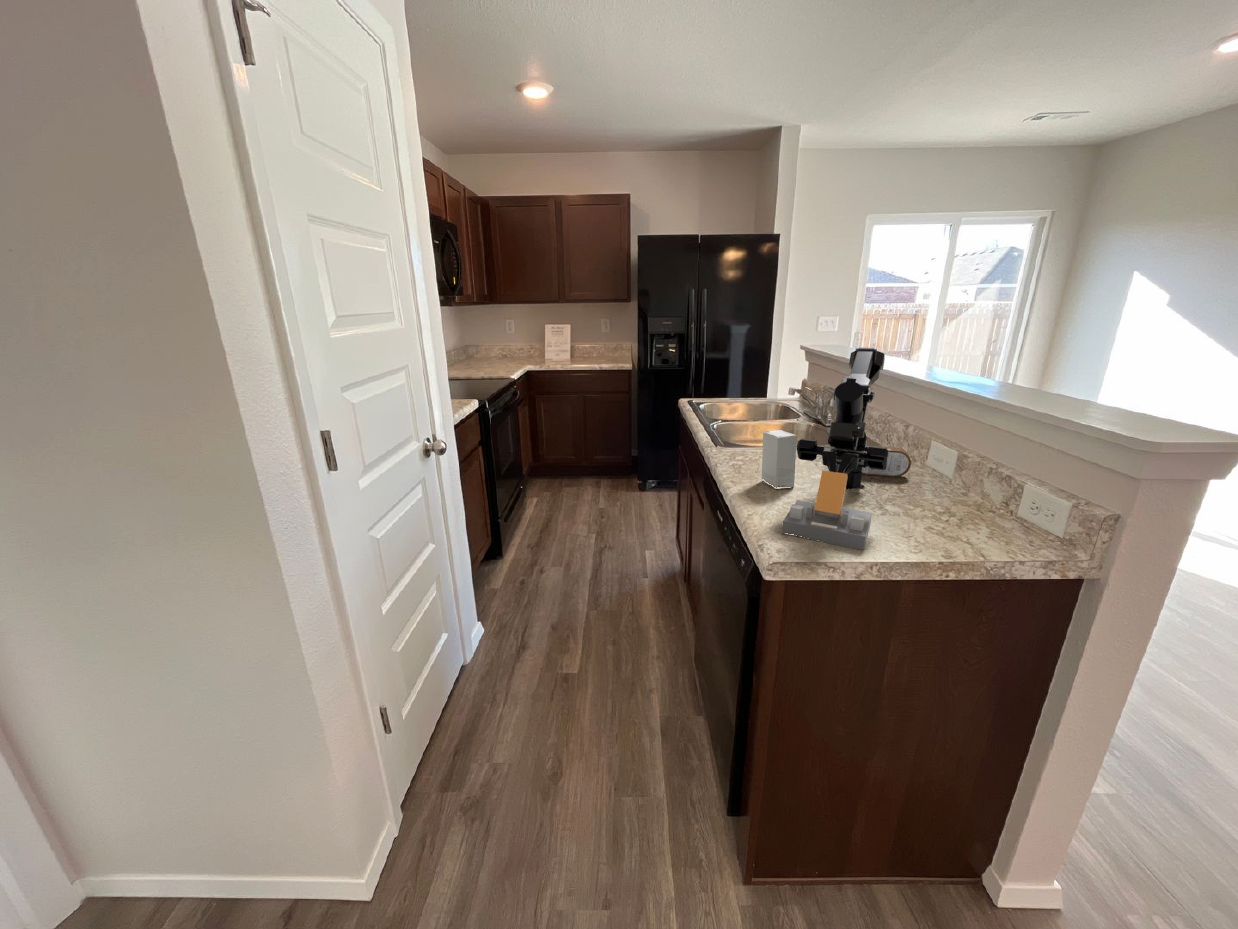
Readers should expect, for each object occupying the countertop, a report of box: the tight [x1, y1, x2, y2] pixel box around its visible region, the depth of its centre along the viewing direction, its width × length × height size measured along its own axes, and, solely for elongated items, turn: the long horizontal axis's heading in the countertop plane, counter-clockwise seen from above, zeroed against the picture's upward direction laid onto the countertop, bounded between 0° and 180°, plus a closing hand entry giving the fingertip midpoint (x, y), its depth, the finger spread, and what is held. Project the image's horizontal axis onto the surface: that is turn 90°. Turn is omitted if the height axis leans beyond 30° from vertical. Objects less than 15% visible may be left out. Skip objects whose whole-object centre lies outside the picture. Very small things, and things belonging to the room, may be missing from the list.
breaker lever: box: [815, 469, 848, 519], centre depth 104 cm, size 2×5×10 cm
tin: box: [862, 446, 912, 478], centre depth 140 cm, size 15×3×8 cm, turn 71°
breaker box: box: [781, 499, 873, 551], centre depth 105 cm, size 14×16×5 cm
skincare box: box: [761, 429, 798, 488], centre depth 133 cm, size 8×6×15 cm
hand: (833, 486), depth 107 cm, fingers closed
